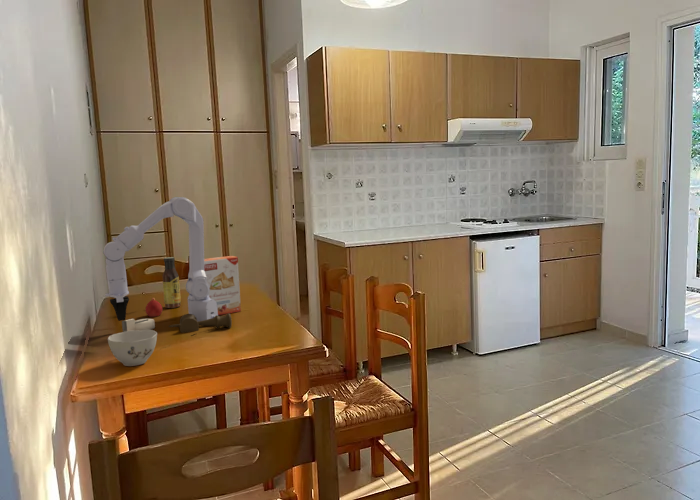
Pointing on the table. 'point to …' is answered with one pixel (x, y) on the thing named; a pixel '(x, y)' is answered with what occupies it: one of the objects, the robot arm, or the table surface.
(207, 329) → the table surface
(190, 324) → the kendama
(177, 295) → the sauce bottle
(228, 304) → the cracker box
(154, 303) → the onion
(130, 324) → the miniature toilet
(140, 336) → the white floral bowl
